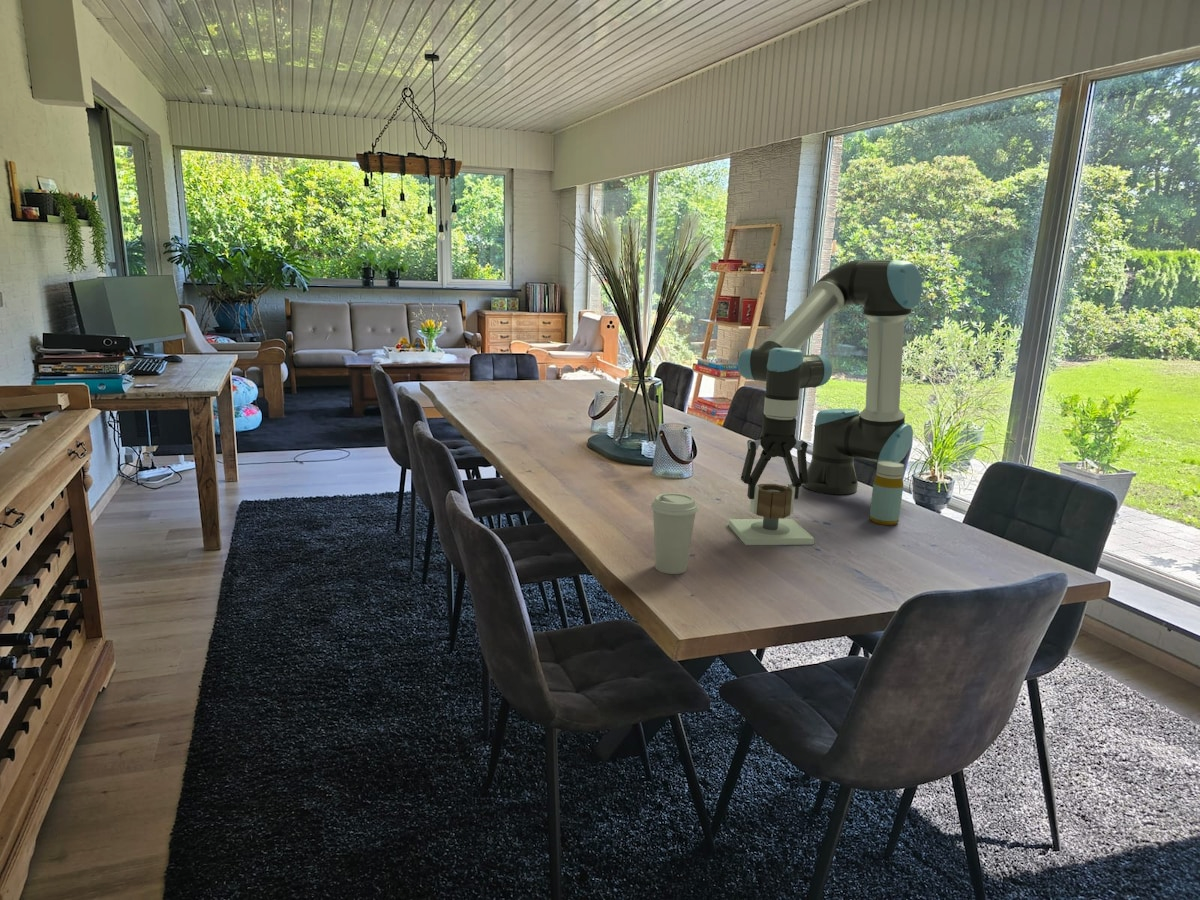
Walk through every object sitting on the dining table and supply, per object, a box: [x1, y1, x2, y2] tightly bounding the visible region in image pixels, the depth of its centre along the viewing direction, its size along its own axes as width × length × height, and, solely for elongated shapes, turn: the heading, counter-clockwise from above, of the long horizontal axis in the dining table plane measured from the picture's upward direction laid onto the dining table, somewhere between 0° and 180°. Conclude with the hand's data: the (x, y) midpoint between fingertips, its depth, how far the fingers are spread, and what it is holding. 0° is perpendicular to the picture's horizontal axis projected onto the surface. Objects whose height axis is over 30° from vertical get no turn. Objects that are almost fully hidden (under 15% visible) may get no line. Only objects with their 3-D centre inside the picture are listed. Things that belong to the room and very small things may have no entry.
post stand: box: [728, 490, 815, 546], centre depth 180 cm, size 16×14×10 cm
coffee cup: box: [650, 492, 699, 575], centre depth 157 cm, size 10×10×15 cm
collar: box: [755, 483, 792, 519], centre depth 179 cm, size 8×8×6 cm
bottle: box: [869, 461, 905, 526], centre depth 193 cm, size 7×7×15 cm
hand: (771, 512), depth 180 cm, fingers closed on collar, 8 cm apart
